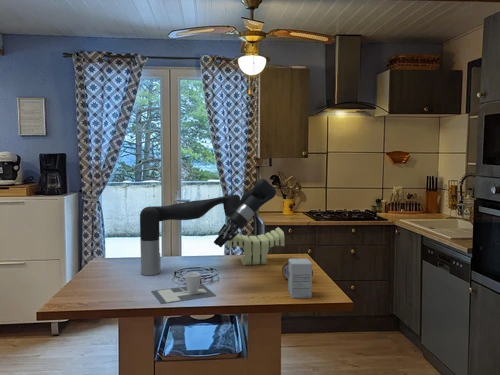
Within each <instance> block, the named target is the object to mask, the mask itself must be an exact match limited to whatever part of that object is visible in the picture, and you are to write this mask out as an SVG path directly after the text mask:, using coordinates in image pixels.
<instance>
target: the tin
mask: <svg viewBox="0 0 500 375" xmlns="http://www.w3.org/2000/svg"><path fill="white" fill-rule="evenodd" d="M288 267H289V261H287V262H285V264H284V265H283V266H282V268H281V272H282V273H281V274H282V276H283V277H284V278H285V279H287V280H288ZM313 276H314V270H313V269H312V277H313Z"/></svg>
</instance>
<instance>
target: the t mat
mask: <svg viewBox="0 0 500 375" xmlns="http://www.w3.org/2000/svg"><path fill="white" fill-rule="evenodd" d="M180 287H181V288H182V289H183V290H185V291H187V292H188V289H187V285H186V286H180ZM197 291H198V293H197V294H189V293H186V292H184V291H182V290H181V289H180V288H179V287H178V286H177V287H173V288H172V287H171V288H164V289H155V290H151V291H150V292H151V293H152V295H153V296H154V297H155V298H156V300H157V301H158V302H159V303H160V305H165V304H172V303H178V302H186V301H187V302H188V301H194V300H199V299H207V298H212V297H213V298H214V297H217V295H216V294H215V293H214V292H213V291H212V290H210V289H209V288H208V287H207V286H205V285H204V284H203V283H200V285H199V289H198V290H197Z"/></svg>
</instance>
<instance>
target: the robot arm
mask: <svg viewBox="0 0 500 375" xmlns="http://www.w3.org/2000/svg"><path fill="white" fill-rule="evenodd" d="M276 195H277V189H276V188H275V187H274V186H273V185H272V184H271V183H270V182H269V181H268V180H267V179H265V178H259V179H258V180H257V181H256V182H255V184H254V186H253V187H251V188H250V189H247V191H245V192H244V193H243V194H242V196H241V197H240V195H238V194H229V195H224V196H217V197H214V198H208V199H199V200H189V201H184V202H178V203H174V204H170V205H159V206H157V205H156V206H155V205H154V206H153V205H152V206H146V207H144V208H142V210H141V211H140V214H139V234H140V235H139V238H140V239H139V240H140V243H139V244H140V274H141V275H143V276H148V277H149V276H156V275H159V274H160V273H161V271H162V270H161V268H162V266H161V252H160V251H161V250H160V222H165V221H191V220H198V219H200V218H203V217H204V216H205V215H206V214H207V213H208V212H209V211H211V210H212V209H213V208H214V207H216V206H218V205H221V204H222V205H223V206H222V207H223V211H224V216H226V217H227V218H229V223H227V224H226V223H224V224H223V225H222V227H221V228H220V229H219V230H218V232H217V235H218V236H217V237H216V238H215V240H214V241H213V244H214V245H216V246H218V247H219V248H222V247H223V246H224V245H225V244H226V242H227V241H228V240H229V241H231V240H232V239H233V238H234V237H235V236H236V235H237V234H240V231H239V229H240V230H242V229H244V227H245V226H246V225H247V224H248V223H249V222H250V220H251V219H252V218H253V216H254V215H255V214H256V213H257V211H258V210H259V209H260V208H261V207H262V206H263V205H264V204H266V203H268V202H269V201H270V200H272V199H274V198H275V197H276Z"/></svg>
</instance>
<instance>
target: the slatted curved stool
mask: <svg viewBox="0 0 500 375" xmlns="http://www.w3.org/2000/svg"><path fill="white" fill-rule="evenodd" d="M226 242H227V248H228V249H230V248H237V247H238V248H241V249H243V252H244V255H242V256H241V258H240V261H241V263H242V264H243V266H251V265H253V266H254V265H255V266H256V265H257V266H258V265H268V263H267V258H268V257H267V256H268V253H269V251H270V248H272V247H274V246H277V247H278V246H281V247H285V233H284V231H283V229H281V228H280V227H279V226H277V227H276V228H275V229H273V230H272V229H271V230H270V232H266V233H265V234H264V233H263V234H258V235H243V234H240V233H238V234H237V235H236V236H235V237H234V238H233V239H232V240H231V241H229V240H228V241H226Z"/></svg>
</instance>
